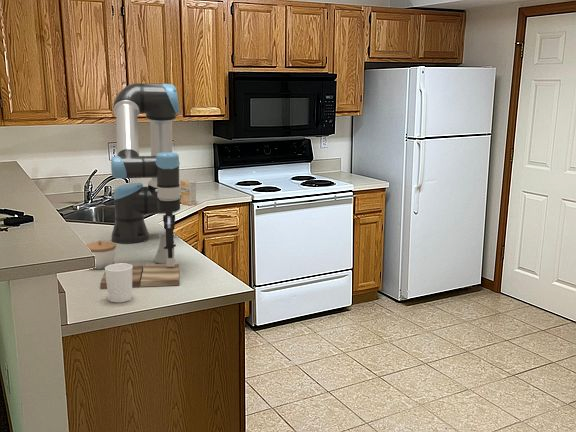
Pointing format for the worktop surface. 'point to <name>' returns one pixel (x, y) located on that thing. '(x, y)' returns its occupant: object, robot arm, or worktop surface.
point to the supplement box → (188, 192)
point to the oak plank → (160, 275)
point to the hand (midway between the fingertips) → (170, 266)
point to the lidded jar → (103, 253)
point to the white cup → (119, 282)
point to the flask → (161, 251)
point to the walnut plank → (136, 277)
